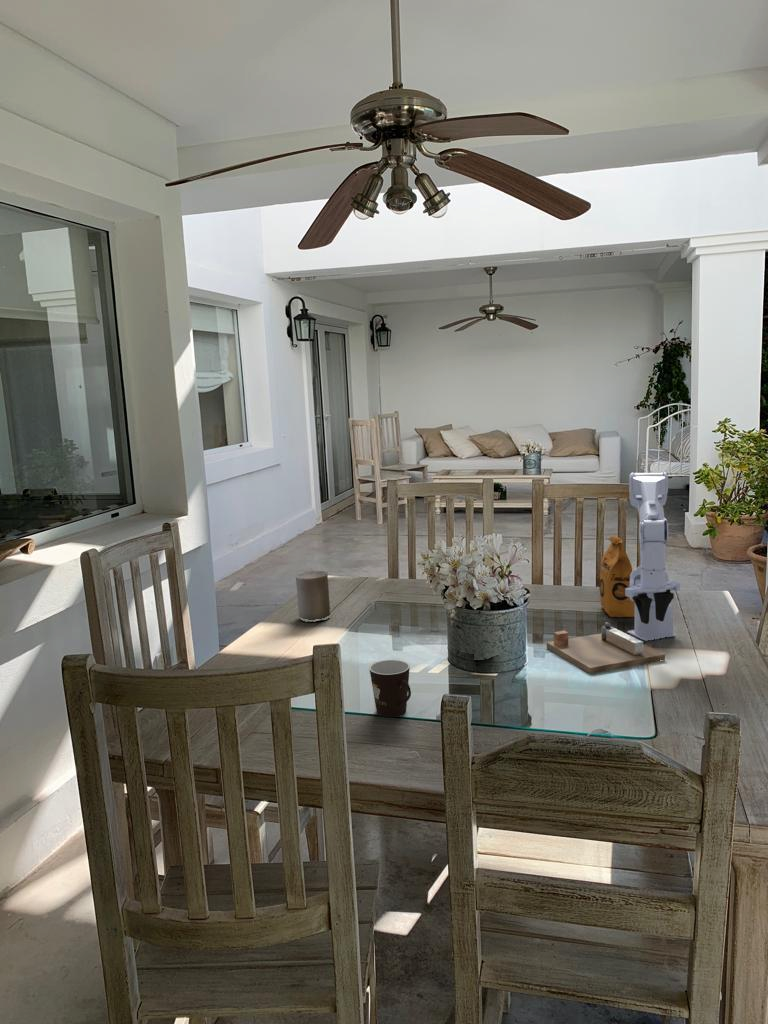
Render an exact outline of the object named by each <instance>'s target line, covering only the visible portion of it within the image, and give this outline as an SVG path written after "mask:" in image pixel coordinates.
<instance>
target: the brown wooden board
mask: <svg viewBox="0 0 768 1024" xmlns="http://www.w3.org/2000/svg"><path fill="white" fill-rule="evenodd" d="M546 649H548V650H549V651H551V652H553V654H556V655H557V656H560V657H561V658H563V659H565V660H566V661H568V662H570V663H571V664H573V665H574V664H575V665H574V666H577V667H578V668H579V669H582V670H583V671H584V670H585V671H584V672H586V673H588V674H589V675H592V674H597V673H603V672H609V671H613V670H614V671H615V670H620V669H625V668H629V667H630V668H631V667H636V666H641V665H647V664H646V663H648V664H652V663H651V662H653V663H657V662H656V661H659V662H661V661H660V660H664V661H666V654H665V653H663V652H661V651H659V650H658V649H657V650H656V649H655V648H653V647H650V646H648V645H646V644H644V643H643V654H639V655H634V654H632V653H630V652H628V651H626V650H624V649H622V648H620V647H618V646H616V645H614V644H612V643H610V642H608V641H606V640H602V639H601V632H600V633H595V634H589V635H583V636H577V637H570V638H569V632H567V631H566V630H560V631H554V632H553V640H552V641H547V642H546Z"/></svg>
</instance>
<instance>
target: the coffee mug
mask: <svg viewBox="0 0 768 1024" xmlns="http://www.w3.org/2000/svg"><path fill="white" fill-rule="evenodd" d="M410 667H411V666H410V664H409V663H408V662H407V661H403V660H399V659H385V660H380V661H379V660H378V661H375V662H374V663H372V664H371V665H370V666H369V667H368V669H369V674H370V680H371V686H372V692H373V697H374V704H375V711H376V714H377V715H378V716H380V717H383V718H389V719H391V718H398V717H401V716H403V715H405V714H406V712H407V707H408V706H407V705H408V704H407V703H408V701H409V700H411V699H410V698H411V695H412V691H411V687H410V684H409V680H410V679H409V678H410V670H411V669H410Z"/></svg>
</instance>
